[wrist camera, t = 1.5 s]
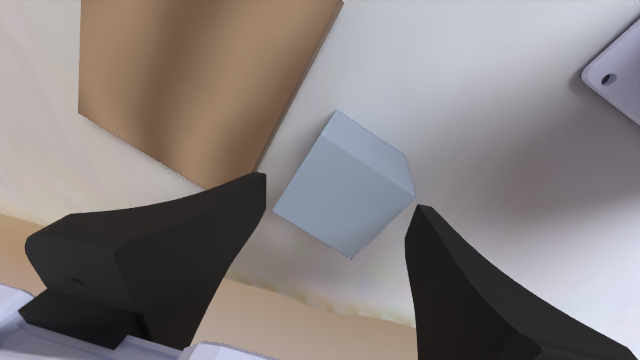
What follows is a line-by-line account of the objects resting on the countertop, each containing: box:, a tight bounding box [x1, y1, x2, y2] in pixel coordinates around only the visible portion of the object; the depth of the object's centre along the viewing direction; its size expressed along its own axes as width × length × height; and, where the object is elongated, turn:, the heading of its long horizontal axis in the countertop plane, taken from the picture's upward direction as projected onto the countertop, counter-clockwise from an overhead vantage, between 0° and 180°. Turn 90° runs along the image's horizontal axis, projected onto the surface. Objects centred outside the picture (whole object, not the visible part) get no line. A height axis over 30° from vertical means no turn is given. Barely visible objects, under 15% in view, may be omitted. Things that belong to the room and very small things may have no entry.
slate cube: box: [272, 110, 416, 259], centre depth 14 cm, size 5×5×5 cm
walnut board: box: [78, 0, 344, 190], centre depth 14 cm, size 12×14×2 cm
